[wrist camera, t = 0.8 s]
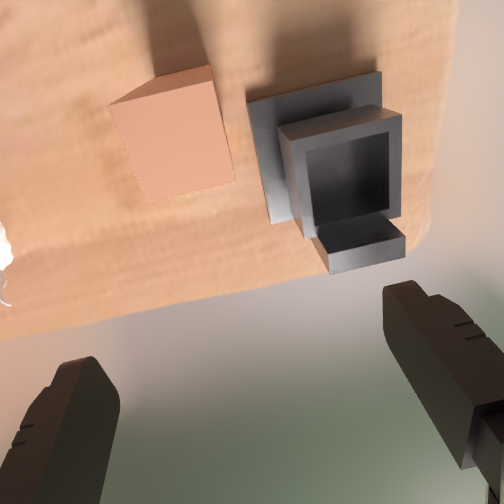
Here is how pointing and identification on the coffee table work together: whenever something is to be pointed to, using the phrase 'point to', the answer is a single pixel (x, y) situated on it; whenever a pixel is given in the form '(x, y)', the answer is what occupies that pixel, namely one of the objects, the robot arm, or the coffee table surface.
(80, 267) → the coffee table surface
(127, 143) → the rail post
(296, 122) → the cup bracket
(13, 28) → the coffee table surface
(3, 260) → the tentacle sculpture
